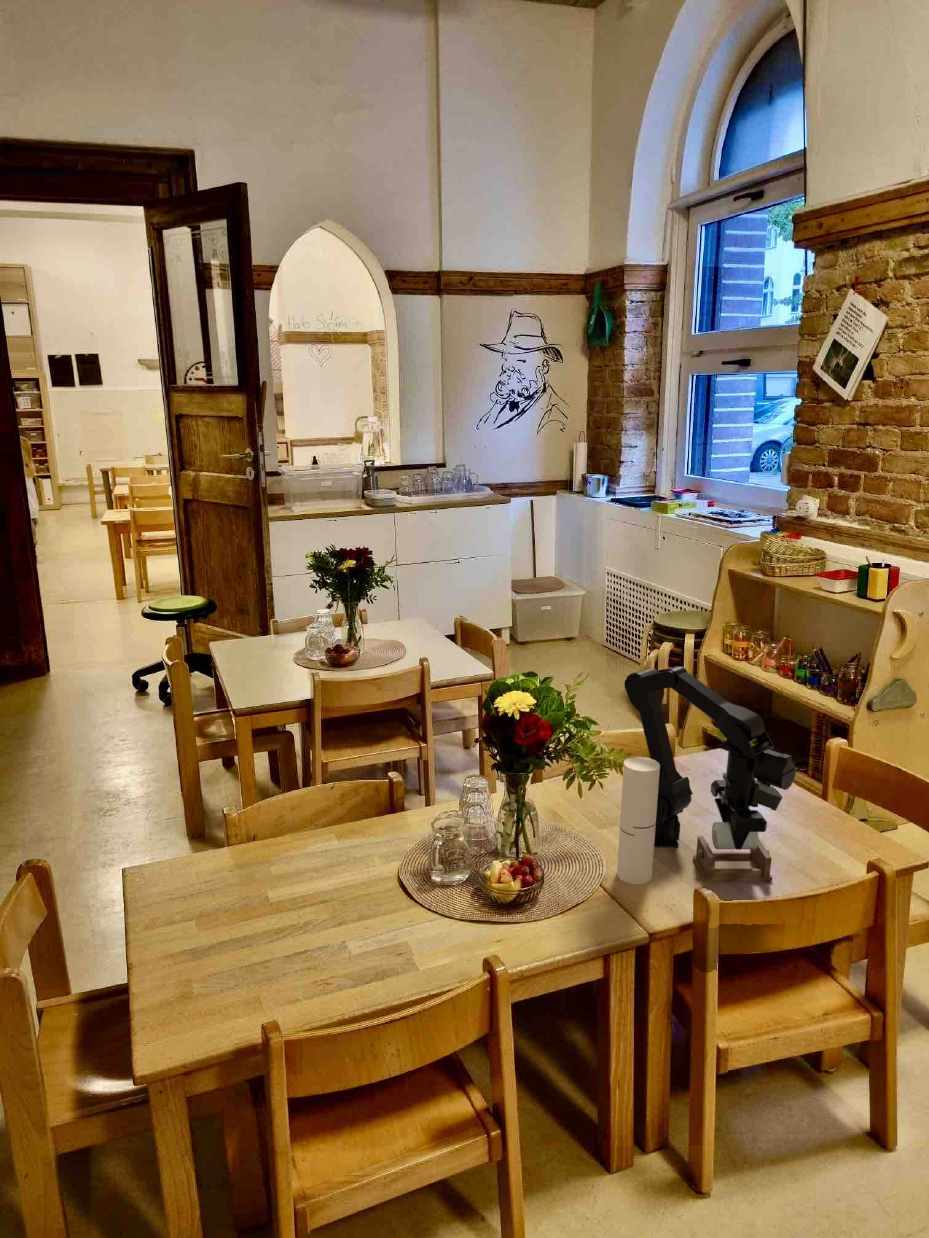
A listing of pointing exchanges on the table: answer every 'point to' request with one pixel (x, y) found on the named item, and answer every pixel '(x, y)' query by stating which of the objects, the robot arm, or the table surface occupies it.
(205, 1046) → the table surface
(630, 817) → the cylindrical container
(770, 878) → the holder
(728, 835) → the roll
